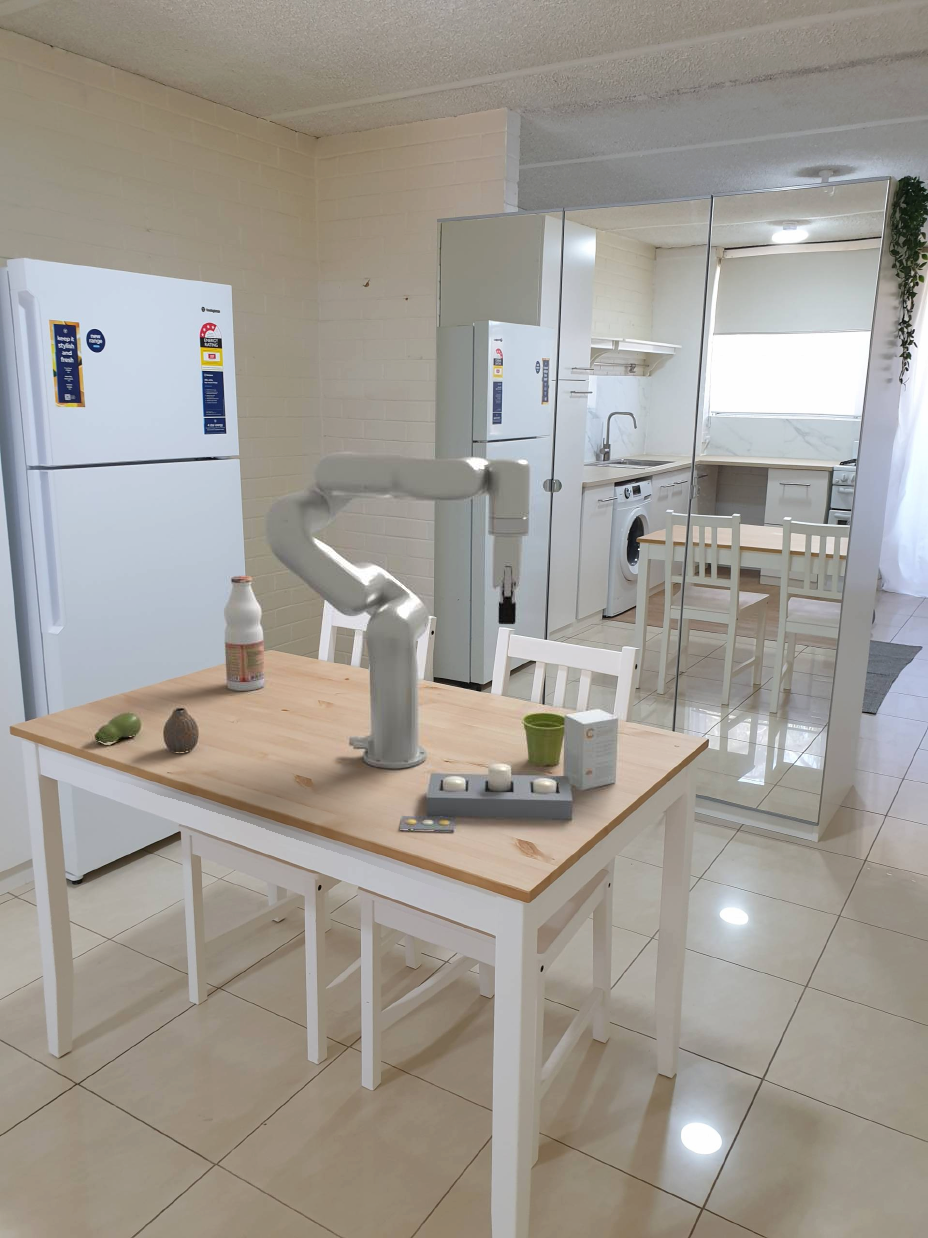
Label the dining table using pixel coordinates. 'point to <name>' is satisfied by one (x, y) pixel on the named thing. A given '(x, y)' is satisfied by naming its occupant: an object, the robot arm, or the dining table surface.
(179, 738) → the vase
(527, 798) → the board
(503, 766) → the button mid
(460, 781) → the button left
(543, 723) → the plant pot
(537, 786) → the button right
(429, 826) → the pattern tile
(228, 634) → the fruit juice
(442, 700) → the dining table surface
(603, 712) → the small box
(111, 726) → the pear
